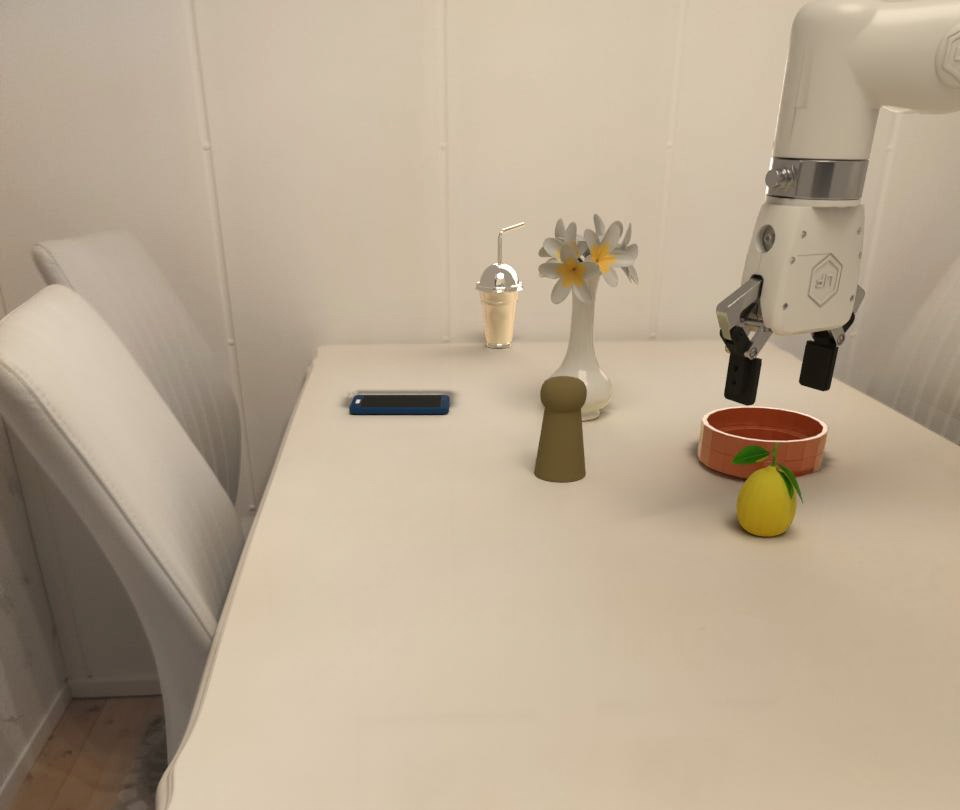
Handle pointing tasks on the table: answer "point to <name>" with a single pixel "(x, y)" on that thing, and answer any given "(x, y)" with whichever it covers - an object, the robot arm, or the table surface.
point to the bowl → (761, 439)
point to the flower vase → (586, 296)
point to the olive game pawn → (561, 430)
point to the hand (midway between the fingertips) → (777, 394)
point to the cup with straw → (499, 298)
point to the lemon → (766, 494)
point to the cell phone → (400, 404)
